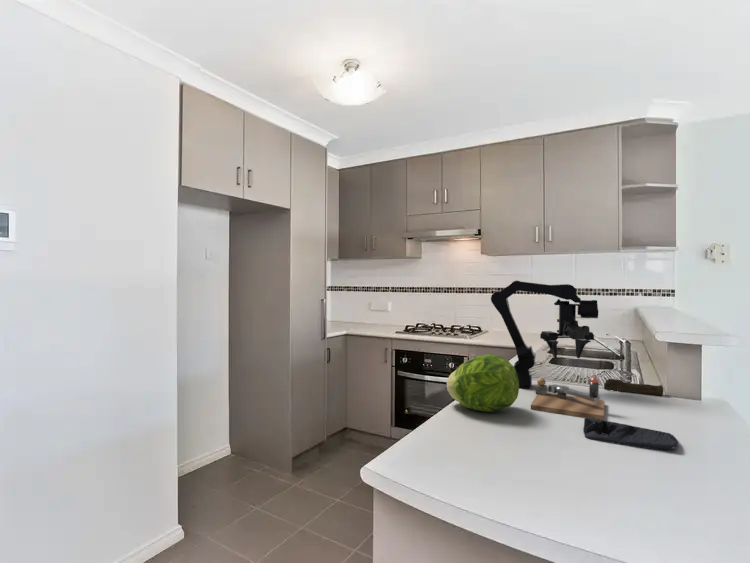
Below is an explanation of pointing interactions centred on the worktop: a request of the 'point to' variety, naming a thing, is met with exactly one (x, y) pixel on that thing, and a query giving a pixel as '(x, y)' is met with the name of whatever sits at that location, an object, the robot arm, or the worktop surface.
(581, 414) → the tan wooden panel
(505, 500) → the worktop surface
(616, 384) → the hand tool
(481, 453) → the worktop surface
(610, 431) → the dark slate chunk
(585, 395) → the lever
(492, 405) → the lettuce
